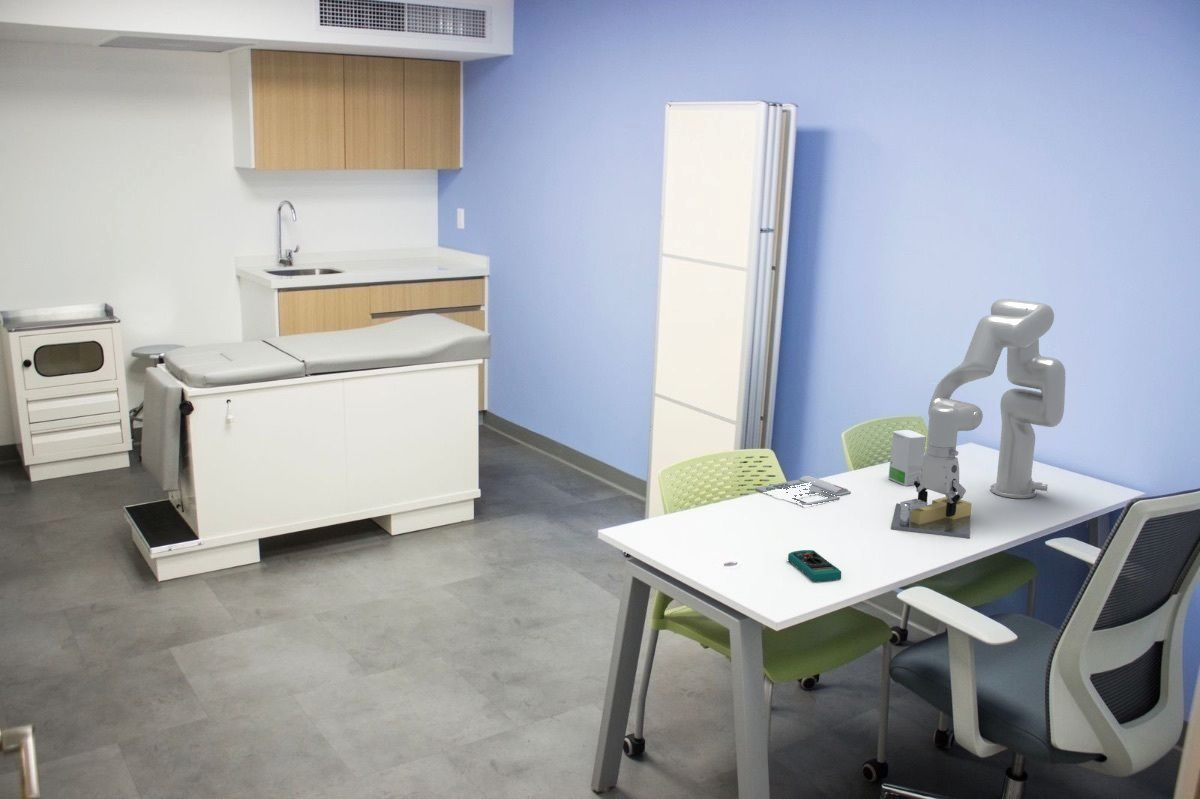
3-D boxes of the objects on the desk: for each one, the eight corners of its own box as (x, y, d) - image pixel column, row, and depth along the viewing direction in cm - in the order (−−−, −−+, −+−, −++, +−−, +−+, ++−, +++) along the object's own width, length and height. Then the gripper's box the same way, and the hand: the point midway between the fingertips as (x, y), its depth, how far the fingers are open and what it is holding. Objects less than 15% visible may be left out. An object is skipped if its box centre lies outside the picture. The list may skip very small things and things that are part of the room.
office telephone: (811, 472, 326) (859, 489, 309) (811, 480, 326) (859, 497, 310) (755, 483, 313) (802, 501, 297) (754, 491, 314) (801, 510, 297)
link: (948, 507, 296) (949, 495, 295) (970, 515, 290) (971, 503, 289) (904, 519, 286) (905, 506, 285) (925, 526, 280) (926, 514, 279)
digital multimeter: (813, 558, 261) (813, 547, 260) (842, 581, 247) (842, 569, 246) (786, 561, 259) (786, 550, 258) (813, 584, 245) (814, 572, 244)
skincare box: (887, 479, 326) (891, 430, 322) (904, 476, 328) (908, 428, 325) (906, 486, 318) (909, 437, 315) (922, 484, 321) (926, 435, 317)
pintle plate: (969, 514, 293) (971, 491, 292) (969, 538, 275) (971, 513, 273) (896, 506, 300) (897, 483, 298) (890, 529, 281) (892, 505, 280)
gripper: (976, 456, 278) (971, 517, 282) (925, 441, 292) (920, 500, 296) (958, 460, 274) (952, 522, 278) (906, 445, 288) (902, 504, 292)
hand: (936, 510), depth 287 cm, fingers open, 9 cm apart
